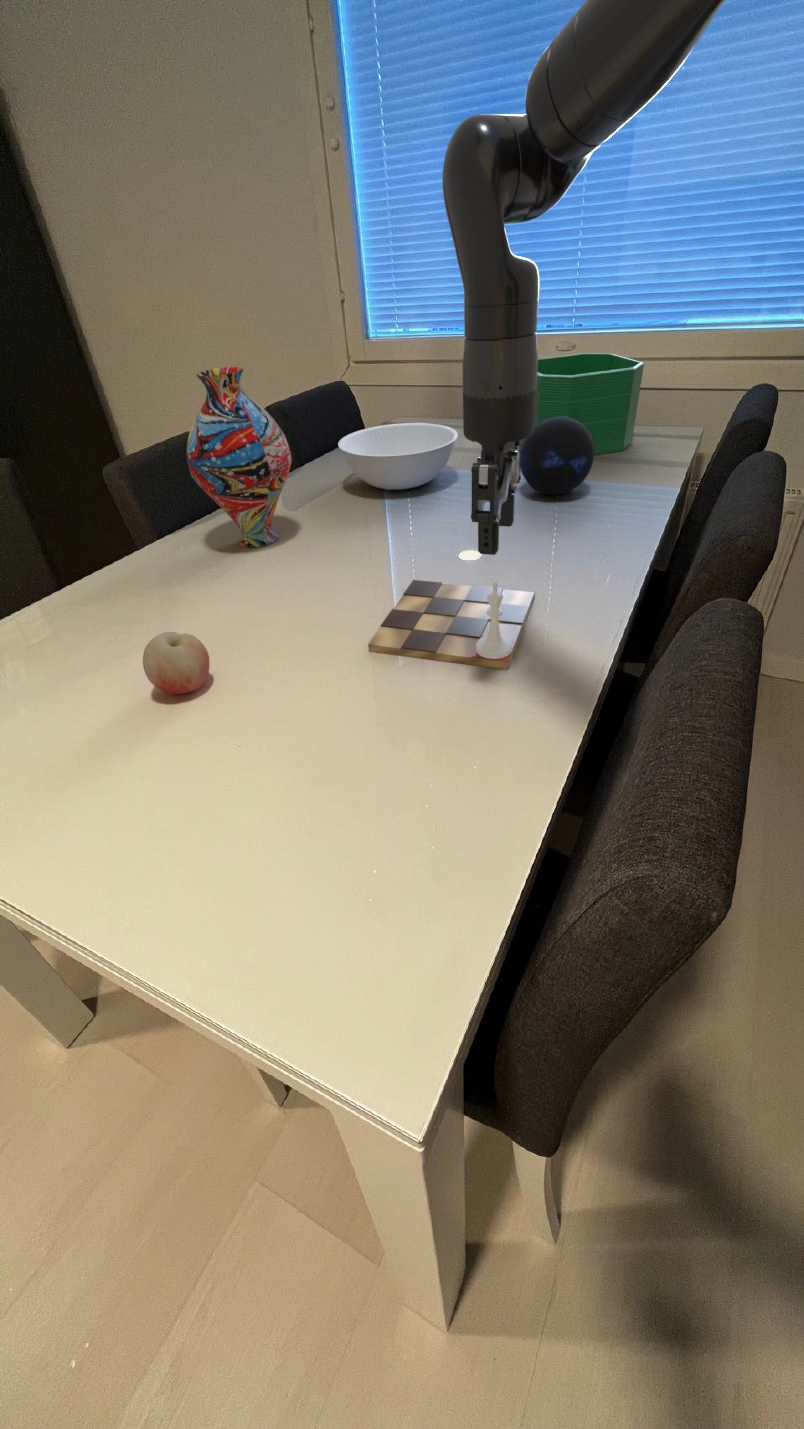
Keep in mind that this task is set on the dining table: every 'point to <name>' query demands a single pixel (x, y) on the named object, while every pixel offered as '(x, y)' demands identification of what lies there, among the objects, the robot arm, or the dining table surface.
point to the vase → (238, 455)
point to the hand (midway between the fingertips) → (496, 538)
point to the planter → (591, 395)
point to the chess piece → (494, 630)
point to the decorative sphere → (557, 456)
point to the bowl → (399, 453)
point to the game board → (450, 623)
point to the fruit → (176, 662)
